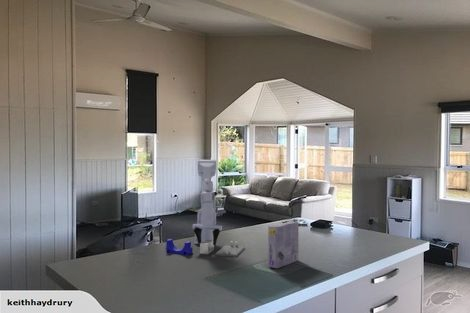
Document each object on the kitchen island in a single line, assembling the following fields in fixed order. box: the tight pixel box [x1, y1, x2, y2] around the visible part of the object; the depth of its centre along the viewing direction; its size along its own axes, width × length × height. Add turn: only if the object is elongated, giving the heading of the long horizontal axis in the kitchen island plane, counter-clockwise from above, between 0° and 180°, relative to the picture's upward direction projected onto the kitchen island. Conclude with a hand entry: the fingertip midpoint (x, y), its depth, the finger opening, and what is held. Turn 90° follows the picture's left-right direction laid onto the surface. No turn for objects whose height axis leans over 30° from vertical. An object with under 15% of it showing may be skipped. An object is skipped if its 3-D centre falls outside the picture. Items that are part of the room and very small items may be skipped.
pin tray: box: [215, 240, 246, 258], centre depth 199 cm, size 10×16×4 cm, turn 164°
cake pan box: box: [267, 221, 299, 270], centre depth 180 cm, size 19×5×18 cm, turn 141°
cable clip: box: [165, 238, 194, 256], centre depth 197 cm, size 12×4×6 cm, turn 64°
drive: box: [199, 239, 215, 255], centre depth 200 cm, size 4×9×5 cm, turn 164°
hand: (207, 244), depth 199 cm, fingers open, 7 cm apart
